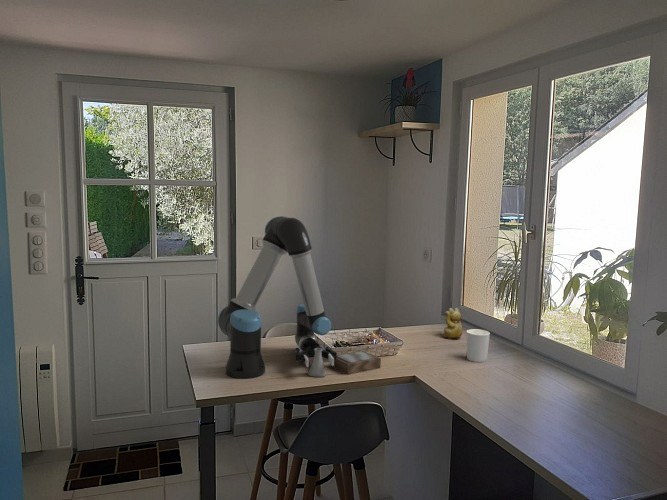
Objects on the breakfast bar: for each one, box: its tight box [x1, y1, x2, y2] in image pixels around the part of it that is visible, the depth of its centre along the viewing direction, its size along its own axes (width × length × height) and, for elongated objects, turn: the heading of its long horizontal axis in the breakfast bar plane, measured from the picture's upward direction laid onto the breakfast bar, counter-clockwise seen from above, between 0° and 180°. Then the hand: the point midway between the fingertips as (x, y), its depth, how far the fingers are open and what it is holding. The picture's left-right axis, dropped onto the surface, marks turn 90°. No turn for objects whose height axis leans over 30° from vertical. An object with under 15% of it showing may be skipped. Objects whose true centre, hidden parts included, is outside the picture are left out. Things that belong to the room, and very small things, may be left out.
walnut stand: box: [330, 350, 382, 375], centre depth 219 cm, size 16×12×4 cm
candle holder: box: [466, 328, 491, 363], centre depth 233 cm, size 10×10×12 cm
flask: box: [308, 348, 328, 378], centre depth 209 cm, size 7×7×10 cm
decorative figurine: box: [443, 307, 463, 340], centre depth 267 cm, size 10×8×15 cm
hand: (320, 362), depth 205 cm, fingers open, 9 cm apart
